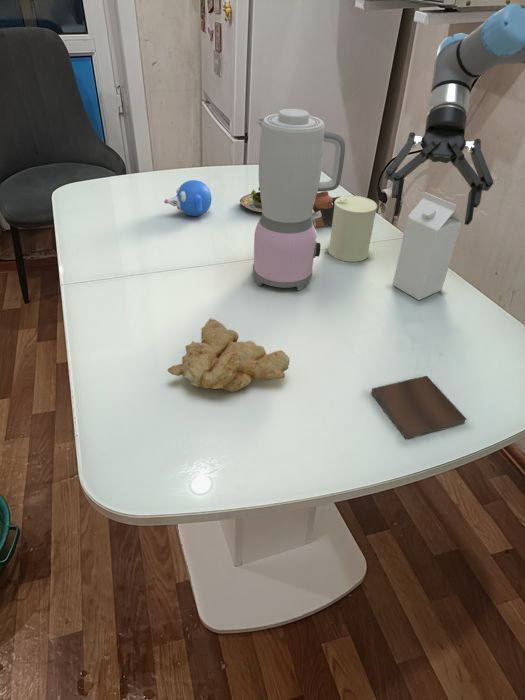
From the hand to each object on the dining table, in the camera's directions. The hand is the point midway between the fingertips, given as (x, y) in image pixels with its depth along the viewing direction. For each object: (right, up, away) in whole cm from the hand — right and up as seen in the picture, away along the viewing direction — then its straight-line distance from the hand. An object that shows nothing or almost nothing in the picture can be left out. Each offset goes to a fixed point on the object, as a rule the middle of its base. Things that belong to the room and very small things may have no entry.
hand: (432, 217), depth 99 cm
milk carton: (-1, -13, +6) cm, 14 cm away
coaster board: (-10, -34, -22) cm, 42 cm away
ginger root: (-39, -30, -18) cm, 52 cm away
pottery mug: (-18, +7, +31) cm, 36 cm away
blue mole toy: (-52, +8, +30) cm, 60 cm away
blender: (-27, -11, +7) cm, 30 cm away
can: (-13, -4, +17) cm, 22 cm away
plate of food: (-33, +12, +35) cm, 50 cm away
